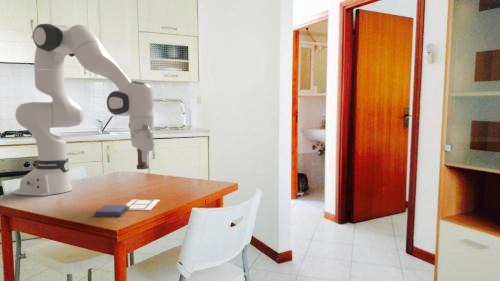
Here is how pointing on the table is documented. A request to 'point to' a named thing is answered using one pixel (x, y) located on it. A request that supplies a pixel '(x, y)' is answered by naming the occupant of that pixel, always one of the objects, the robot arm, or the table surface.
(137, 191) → the table surface
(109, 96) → the robot arm
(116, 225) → the table surface
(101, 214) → the inkpad
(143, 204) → the sheet
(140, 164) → the stamp
